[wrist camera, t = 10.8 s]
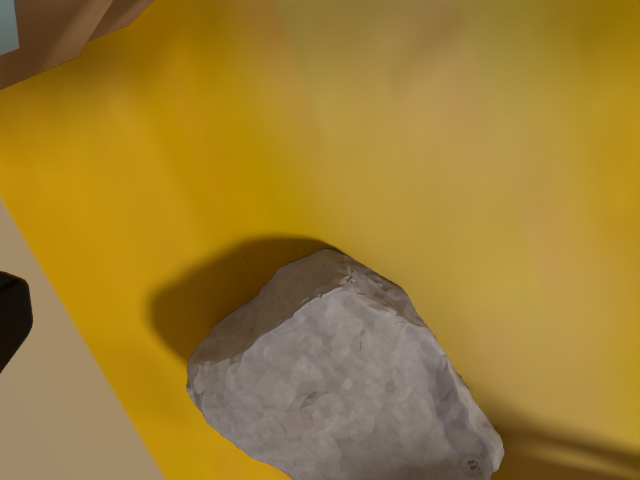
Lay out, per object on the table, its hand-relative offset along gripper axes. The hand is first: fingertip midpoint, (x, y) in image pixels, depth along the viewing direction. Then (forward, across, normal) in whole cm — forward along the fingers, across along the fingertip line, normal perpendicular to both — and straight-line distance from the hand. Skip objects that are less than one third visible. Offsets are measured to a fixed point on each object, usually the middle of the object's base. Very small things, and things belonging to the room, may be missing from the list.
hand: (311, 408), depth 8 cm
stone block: (+14, 0, +12) cm, 18 cm away
